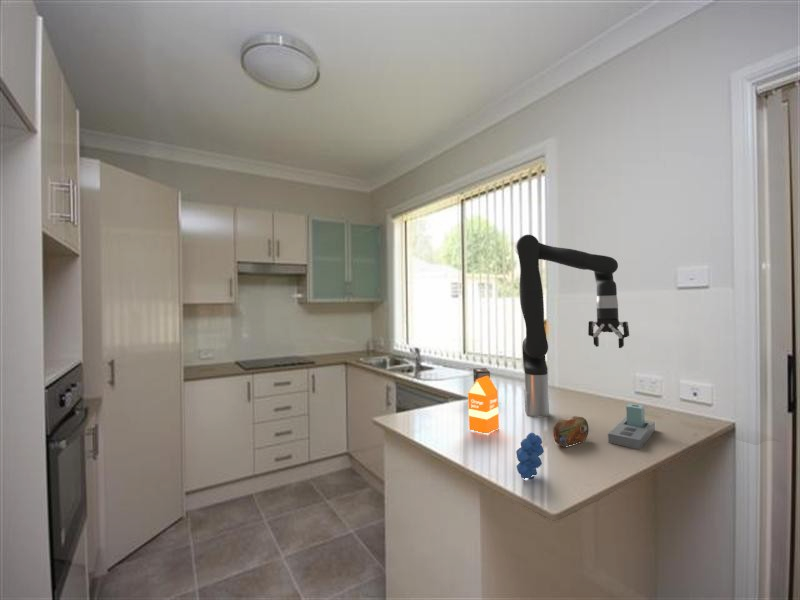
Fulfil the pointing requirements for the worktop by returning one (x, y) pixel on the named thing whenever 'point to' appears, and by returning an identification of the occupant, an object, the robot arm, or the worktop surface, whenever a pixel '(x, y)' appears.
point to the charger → (635, 415)
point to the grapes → (529, 455)
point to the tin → (570, 431)
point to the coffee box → (480, 373)
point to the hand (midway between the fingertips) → (608, 347)
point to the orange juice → (483, 406)
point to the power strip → (631, 434)
